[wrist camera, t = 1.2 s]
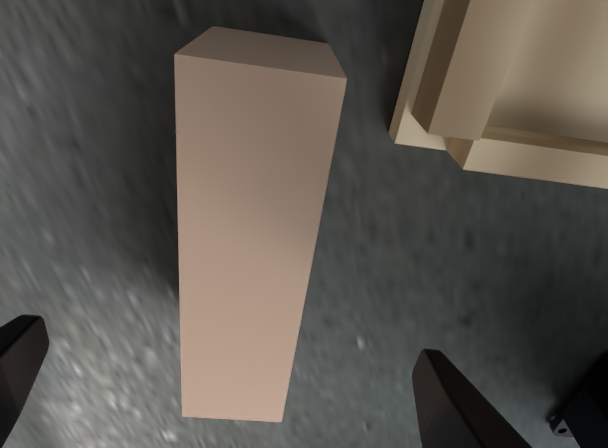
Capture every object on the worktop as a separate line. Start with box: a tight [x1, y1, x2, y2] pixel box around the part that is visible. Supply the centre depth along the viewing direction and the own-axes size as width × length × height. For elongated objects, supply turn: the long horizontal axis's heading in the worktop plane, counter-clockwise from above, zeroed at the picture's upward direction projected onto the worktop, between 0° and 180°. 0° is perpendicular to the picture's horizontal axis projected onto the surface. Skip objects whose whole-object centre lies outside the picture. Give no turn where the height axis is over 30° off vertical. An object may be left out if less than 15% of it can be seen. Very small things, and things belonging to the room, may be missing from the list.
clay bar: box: [174, 26, 347, 422], centre depth 13 cm, size 4×12×5 cm, turn 172°
